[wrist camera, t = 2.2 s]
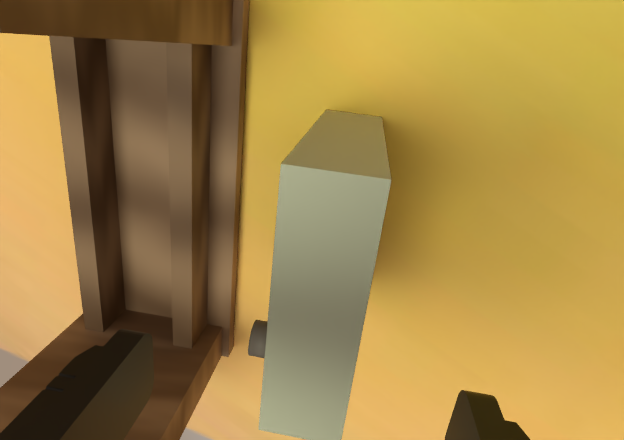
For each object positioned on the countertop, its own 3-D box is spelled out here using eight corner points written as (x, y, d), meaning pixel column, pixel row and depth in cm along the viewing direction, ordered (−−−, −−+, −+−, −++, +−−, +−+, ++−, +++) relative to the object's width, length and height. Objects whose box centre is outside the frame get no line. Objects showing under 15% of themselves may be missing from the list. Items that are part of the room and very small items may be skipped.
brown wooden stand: (62, -25, 22) (-492, -167, 8) (249, -4, 21) (2, -121, 7) (99, 322, 30) (-135, 552, 16) (233, 347, 29) (107, 611, 15)
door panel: (307, 107, 22) (245, 158, 11) (381, 116, 22) (391, 179, 11) (291, 268, 26) (232, 424, 15) (353, 278, 26) (340, 445, 15)
